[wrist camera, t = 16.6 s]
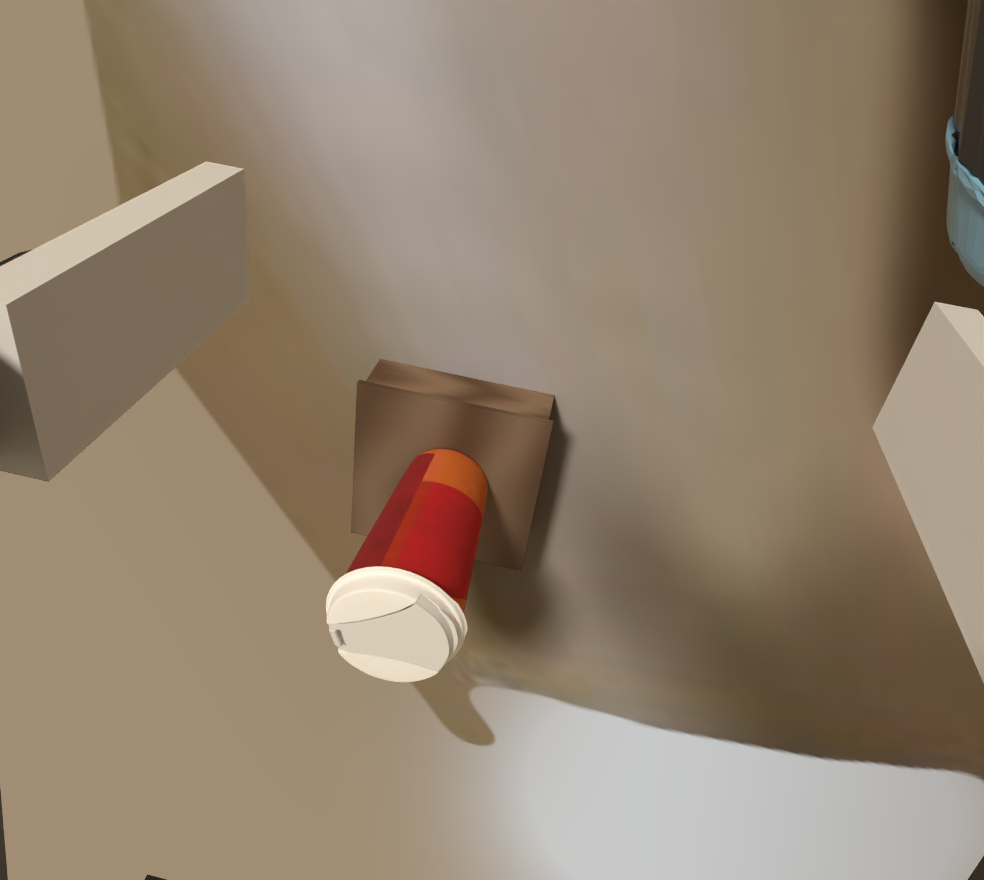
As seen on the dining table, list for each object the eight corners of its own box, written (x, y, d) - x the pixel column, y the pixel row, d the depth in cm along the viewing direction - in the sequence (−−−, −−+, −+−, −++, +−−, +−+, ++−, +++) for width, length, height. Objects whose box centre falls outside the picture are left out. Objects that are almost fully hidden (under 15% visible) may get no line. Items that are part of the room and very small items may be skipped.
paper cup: (407, 528, 55) (340, 687, 43) (379, 437, 51) (298, 585, 39) (514, 525, 53) (475, 690, 41) (494, 430, 49) (444, 583, 38)
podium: (559, 392, 51) (552, 424, 48) (529, 534, 58) (521, 570, 55) (376, 354, 52) (357, 382, 49) (368, 499, 59) (351, 532, 56)
